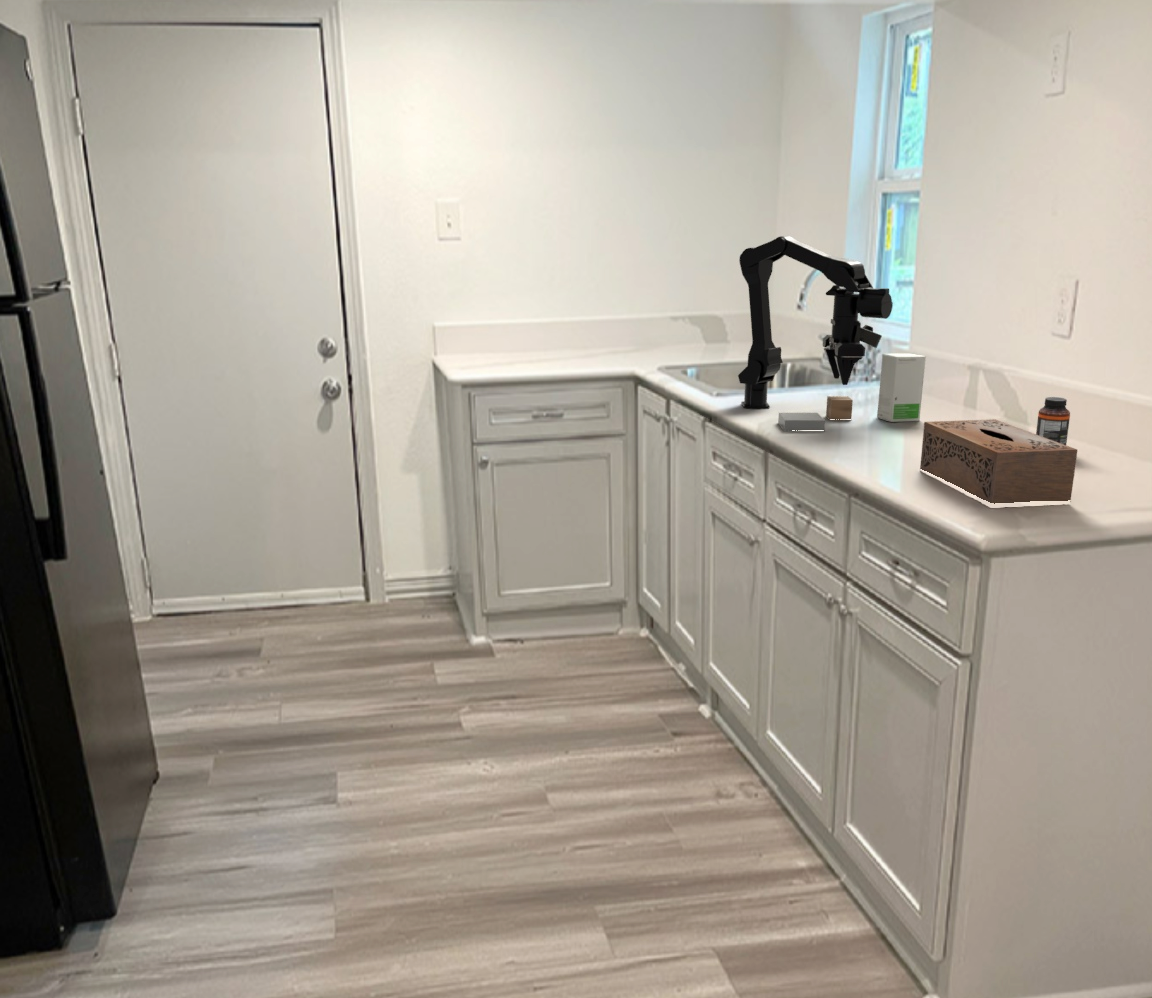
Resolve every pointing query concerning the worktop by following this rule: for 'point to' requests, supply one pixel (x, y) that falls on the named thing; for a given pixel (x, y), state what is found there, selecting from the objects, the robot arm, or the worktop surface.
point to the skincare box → (901, 387)
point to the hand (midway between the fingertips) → (840, 381)
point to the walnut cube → (839, 407)
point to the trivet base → (801, 421)
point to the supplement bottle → (1054, 420)
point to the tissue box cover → (998, 461)
